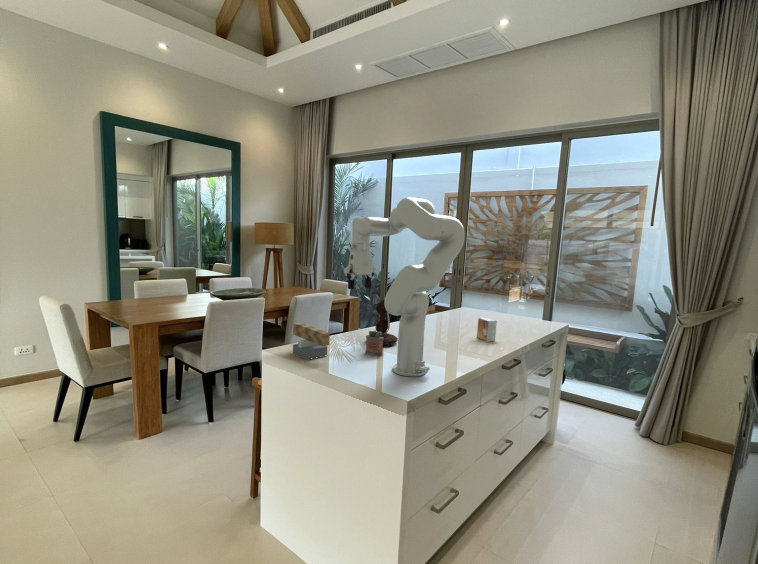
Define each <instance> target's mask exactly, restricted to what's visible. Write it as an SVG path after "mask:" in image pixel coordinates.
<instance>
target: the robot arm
mask: <svg viewBox="0 0 758 564" xmlns="http://www.w3.org/2000/svg"><path fill="white" fill-rule="evenodd" d="M435 211H436V210H435V206H434V205H433V203H432V202H431V201H430V200H427V199H424V198H419V197H418V198H417V197H413V196H412V197H411V196H409V197H404V198H402V199H401V200H400V201H398V203H397V205H396V207H394V208H392V210H391V213H390V217H377V216H376V217H374V216H365V217H356V218H353V219H352V225H351V227H352V228H351V232H352V233H351V245H350V246H349V247H350V248H351V250H350V254H349V259H348V265H347V266H346V267H345V268H343V273H344V277H345V278H346V280H347V289H348V290H355V279H354V278H355V277H356V276H365V279H364V281H365V282H364V288H366V289H371V288H372V279H373V278H374V275H375V272H376V271H377V270H376V269H377V268H376V267H374V266H373V255H372V251H371V250H370V249H371V237H389V236H390V237H391V236H395V235H398V234H400V233H401V232H403V231H404V230H406V229H409V230H410V231H412V232H413V233H414V234H415V235H416V236H418V237H419V238H421V240H425V241H436V242H437V241H438V243H437V244H436V245H434V247H432V248H431V249H430V250H429V252H428V253H427V255H426V256H425V257H424V259H423V261H422V262H421V263H419V264H408V265H406V266H404V267H403V268H401V269H400V270H399V272H398V273H397V275H396V276H395V278H394V280H393V282H392V284H391V285H390V286H389V288H388V290H387V292H386V294H385V297H384V300H385V302H384V303H385V308H386V310H387V312H388V313H389V315H392V316H397V317H398V316H400V319H399V323H398V336H397V338H398V339H397V340H398V341H397V355H396V357H397V359H396V364H394V365H392V372H393V373H394V374H397V375H400V376H405V377H421V376H424V375H426V374H428V373H429V371H430V367H429V366H427V365H425V364H426V362H425V360H423V359H424V345H425V344H424V343H425V326H426V318H427V317H426V316H427V313H428V309H429V304H430V298H429V295H428V293H427V292H430V291H433V290H435V288H436V287H437V286H439V285H438V284H439V283H441V280H442V278H443V277H444V276H445V274H446V273H447V271H448V270H449V268H450V266H451V264H452V263H453V261H454V260H455V259H456V257H457V256H458V255H459V254H460V253H461V250H462V249H463V247H464V245H465V244H464V243H465V237H466V236H465V233H466V232H465V228H464V225H463V224H462V222H461V221H460V219H457V218H456V217H454V216H449V215H443V214H442V215H441V214H435Z"/></svg>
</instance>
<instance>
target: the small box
mask: <svg viewBox="0 0 758 564" xmlns="http://www.w3.org/2000/svg"><path fill="white" fill-rule="evenodd" d="M497 322H498V321H497V320H495V319H492V318H488V317H478V320H477V330H476V332H477V333H476V338H477V337H478V338H477V339H480V340H482V339H483V341H485V342H494V340H495V341H496V333H497V324H498V323H497Z"/></svg>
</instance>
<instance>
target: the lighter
mask: <svg viewBox="0 0 758 564" xmlns="http://www.w3.org/2000/svg"><path fill="white" fill-rule="evenodd" d="M379 335H382V332H378V331H376V329H374V330H369V331H368V334H367V335H365V338H366V341H365V345H366V346H365V352H364V353H365V354H368V355H371V354H372V355H371V356H375V357H376V356H378V357H381V356H383V355H384V353H383V348H384V347H383V346H384V344H383V339H384V338H383V337H379Z"/></svg>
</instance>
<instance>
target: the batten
mask: <svg viewBox="0 0 758 564" xmlns="http://www.w3.org/2000/svg"><path fill="white" fill-rule="evenodd" d="M292 335H293V336H296V337H299V338H301V339H302V340H308V341H311V342H313V343H316V344H318V345H321V346H327V347H328V346H330V332H329V331H326V330H323V329H320V328H318V327H315V326H312V325H309V324H306V323H302V322H300V321H299V322H293V329H292Z"/></svg>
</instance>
